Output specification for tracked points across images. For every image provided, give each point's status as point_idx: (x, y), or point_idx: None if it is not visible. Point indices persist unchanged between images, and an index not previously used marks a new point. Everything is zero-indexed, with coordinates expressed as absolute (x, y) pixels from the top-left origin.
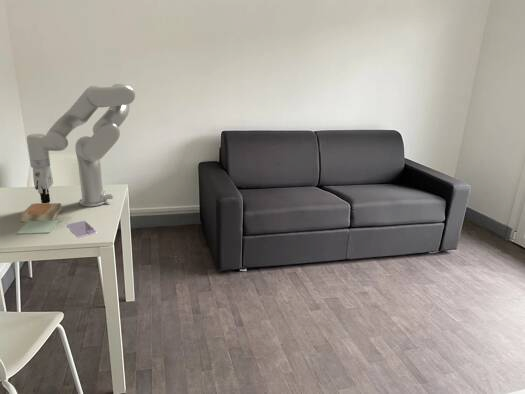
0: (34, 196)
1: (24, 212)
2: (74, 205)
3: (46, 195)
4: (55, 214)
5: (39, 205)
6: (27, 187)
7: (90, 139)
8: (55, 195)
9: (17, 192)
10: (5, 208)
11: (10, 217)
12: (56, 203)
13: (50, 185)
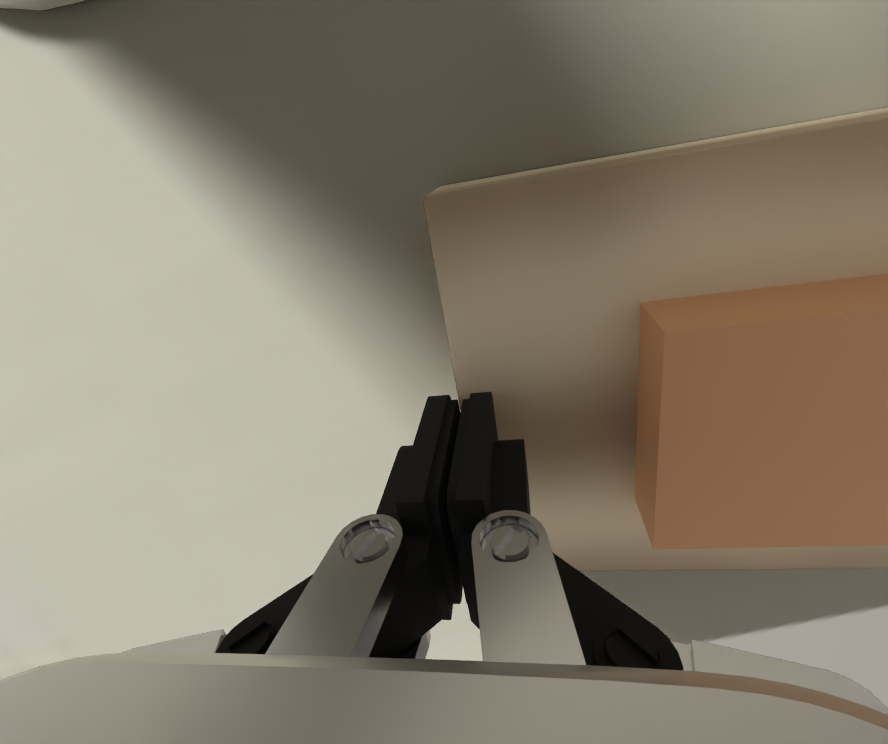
0: (143, 599)
1: (855, 555)
2: (223, 42)
3: (491, 510)
4: (818, 121)
5: (791, 461)
6: None
7: None
8: (28, 461)
9: None
10: None
11: (700, 609)
12: (445, 274)
13: (327, 719)
